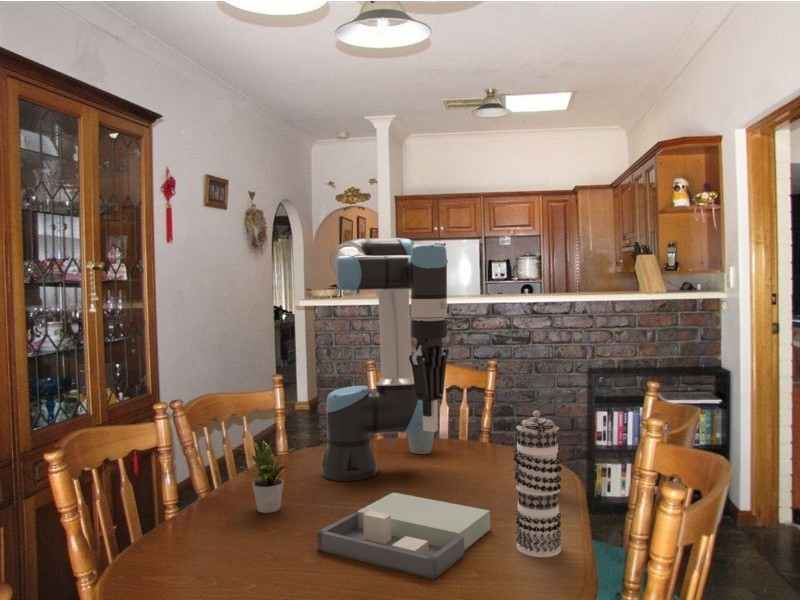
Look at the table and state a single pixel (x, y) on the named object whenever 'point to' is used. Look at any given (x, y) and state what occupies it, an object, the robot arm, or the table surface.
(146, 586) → the table surface
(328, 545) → the tray
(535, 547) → the black and white jar
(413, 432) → the disposable coffee cup
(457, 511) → the board
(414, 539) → the tile
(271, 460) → the house plant
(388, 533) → the tile
